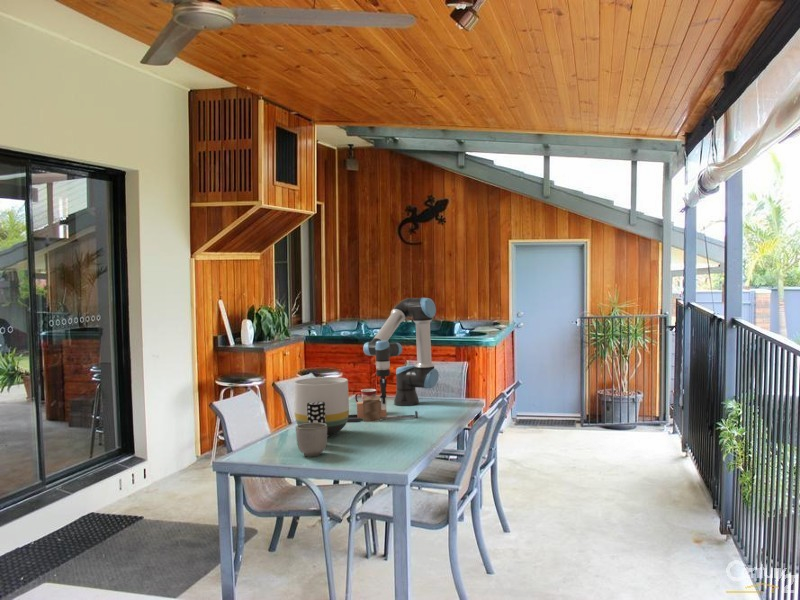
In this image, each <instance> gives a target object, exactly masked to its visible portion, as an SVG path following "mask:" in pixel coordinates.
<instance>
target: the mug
mask: <svg viewBox="0 0 800 600" xmlns="http://www.w3.org/2000/svg"><path fill="white" fill-rule="evenodd" d="M358 395H360V397H361V402H363V397H370V396H377V389H375V388H364V389H360V392H356V394H355V403H357V402H359V400H358Z"/></svg>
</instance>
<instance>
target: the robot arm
mask: <svg viewBox="0 0 800 600" xmlns="http://www.w3.org/2000/svg"><path fill="white" fill-rule="evenodd" d="M436 313H437V308H436V304H435V302H434V300H433V299H431V298H429V297H407V298H404V299H403V300H401V301H399V302H398V303H397V304H396V305H395V306H394V307H393V308H392V309H391V311H390V315H389V316H388V318H387V319H386V320H385V322H384V324H383V325H382V327H380V329H379V330H378V331H377V333H376V335H375V336H374V337H373V339H372V340H371V341H367V342H365V343H364V344H363V348H362V349H363V353H364V354H365V355H366V356H371V357H372V356H373V357H375V362H374V365H375V368H376V369H375V376H376V377H379V378H380V379H379V387H380V395H379V397H380V401H381V410H386V411H387V410H388V409H387V386H388V385H387V383H388V380H387V378H386V377H390V376H391V375H390V374H391V369H390V368H391V367H390V366H391V365H390V364H391V363H390V362H391V361H390V357H391V358H392V357H397V356H400V355H401V354H402V353H403V346H402V344H400V343H399V342H389V340H390V338H391V337H392V335H393V334H394V333H395V332H396V330H397V328H398V327H399V326H400V324H401V323H403V322H405V320H406V319H407V318H412V322H414V323H415V336H416V337H415V338H416V339H415V340H416V342H415V343H416V362H417V363H416V364H415V365H411V364H409V365H405V366H399V367H396V370H395V379H396V380H395V381H396V385H395V386H396V391H395V392H396V393H395V396H394V399H393V404H394V405H396V406H399V407H400V406H401V407H403V406H405V407H407V406H408V407H410V406H416V405H419V404H420V401H419V396H418V393H417V391H416V388H418V389H419V388H420V389H421V388H422V389H433V388H435V387H436V386H437V383H438V381H439V376H440V375H439V374H440V373H439V371H438V369H436V368H435V364H434V363H433V362H432V343H431V322H432V321H433V318H434V317H435V316H436Z"/></svg>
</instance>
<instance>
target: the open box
mask: <svg viewBox="0 0 800 600" xmlns="http://www.w3.org/2000/svg"><path fill="white" fill-rule="evenodd" d="M380 401H381V398H380V395H376V396H370V397H363V413H364V420H363V422H365V423H366V422H381V419H380Z"/></svg>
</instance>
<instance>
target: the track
mask: <svg viewBox="0 0 800 600" xmlns="http://www.w3.org/2000/svg"><path fill="white" fill-rule="evenodd" d="M395 418H413V419H418V418H419V416H418V410H415V411H414V414H407V415H406V414H405V415H387V417H380V420H382V419H395ZM360 421H364V418H360Z"/></svg>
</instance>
